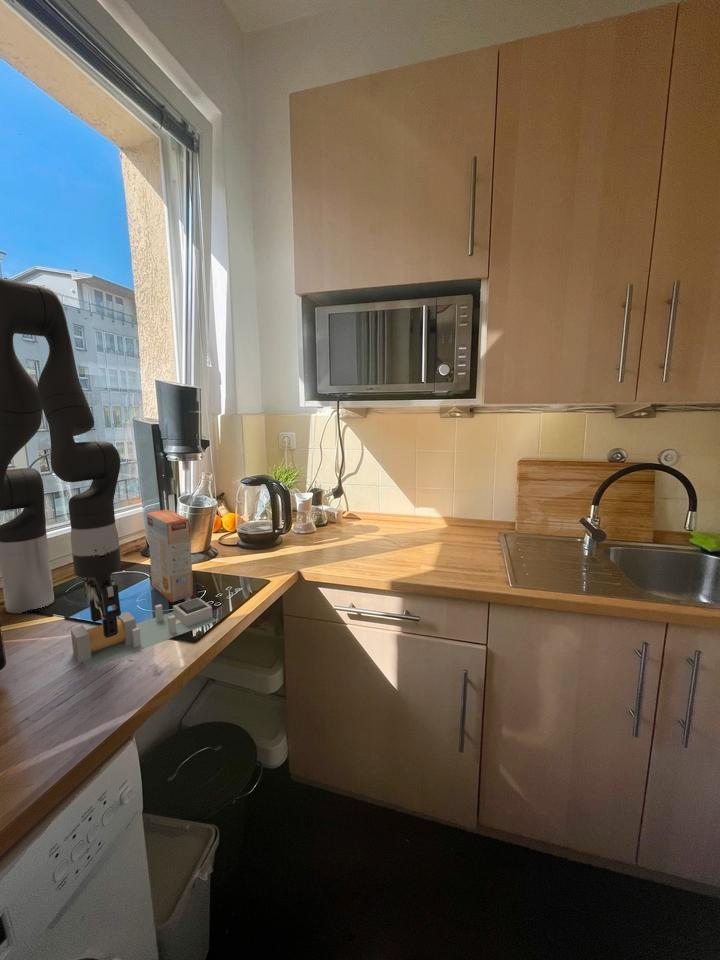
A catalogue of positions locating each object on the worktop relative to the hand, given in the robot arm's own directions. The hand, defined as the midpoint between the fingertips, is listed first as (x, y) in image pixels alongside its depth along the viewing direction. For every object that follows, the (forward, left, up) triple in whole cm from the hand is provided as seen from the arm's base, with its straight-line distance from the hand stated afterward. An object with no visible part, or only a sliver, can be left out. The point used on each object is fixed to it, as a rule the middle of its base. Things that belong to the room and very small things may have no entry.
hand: (104, 627), depth 80 cm
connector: (0, +17, -4) cm, 18 cm away
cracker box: (-18, +20, -5) cm, 27 cm away
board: (0, +8, -5) cm, 10 cm away
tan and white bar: (0, 0, -4) cm, 4 cm away
